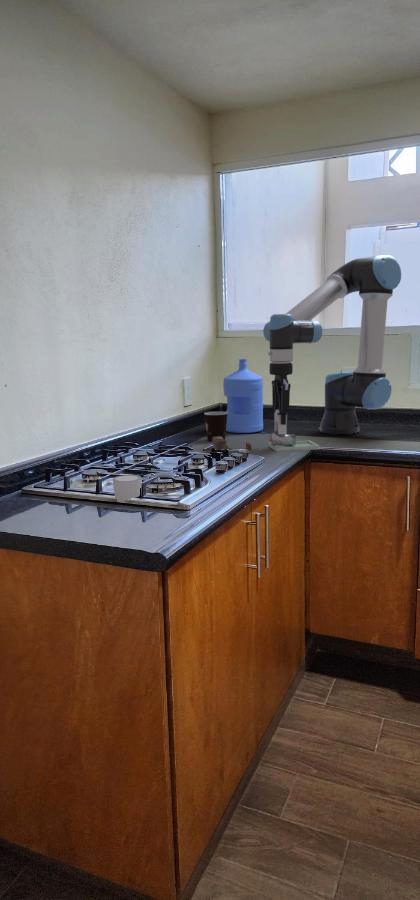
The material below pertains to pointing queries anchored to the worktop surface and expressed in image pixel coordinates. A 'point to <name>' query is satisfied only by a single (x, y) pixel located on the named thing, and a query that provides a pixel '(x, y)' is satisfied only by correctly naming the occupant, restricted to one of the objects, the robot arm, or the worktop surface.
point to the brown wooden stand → (221, 444)
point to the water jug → (244, 400)
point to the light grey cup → (126, 487)
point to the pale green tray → (297, 446)
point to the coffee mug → (215, 424)
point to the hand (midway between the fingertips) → (280, 432)
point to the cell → (276, 422)
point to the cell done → (282, 439)
